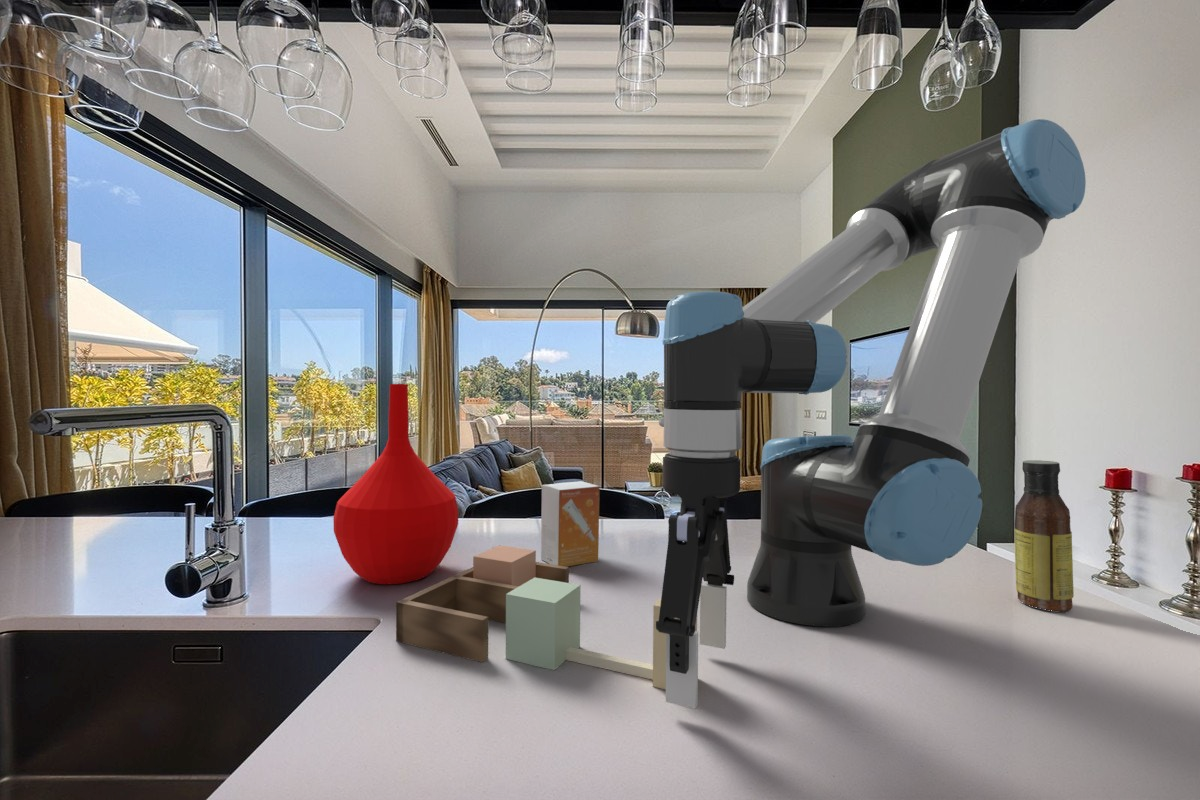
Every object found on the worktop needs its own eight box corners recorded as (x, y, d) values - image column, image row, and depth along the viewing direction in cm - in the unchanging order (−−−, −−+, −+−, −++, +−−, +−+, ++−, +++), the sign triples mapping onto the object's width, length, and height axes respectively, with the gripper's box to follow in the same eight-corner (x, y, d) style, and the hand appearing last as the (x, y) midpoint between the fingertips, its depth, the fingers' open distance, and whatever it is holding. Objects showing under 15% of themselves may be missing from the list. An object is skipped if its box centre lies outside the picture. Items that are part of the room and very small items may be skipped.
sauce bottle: (1064, 601, 78) (1067, 460, 78) (1080, 617, 73) (1083, 465, 73) (1008, 594, 81) (1010, 457, 81) (1019, 609, 76) (1022, 462, 75)
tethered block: (699, 671, 58) (700, 595, 58) (684, 701, 52) (685, 616, 52) (534, 636, 66) (534, 568, 66) (505, 658, 60) (506, 584, 60)
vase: (406, 603, 76) (407, 383, 75) (304, 585, 82) (304, 382, 82) (480, 564, 93) (481, 385, 93) (391, 552, 99) (391, 384, 99)
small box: (558, 569, 91) (558, 489, 90) (540, 559, 96) (540, 484, 96) (599, 561, 95) (600, 485, 95) (580, 552, 100) (580, 480, 100)
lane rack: (568, 599, 78) (568, 567, 78) (482, 662, 59) (482, 620, 59) (496, 586, 82) (496, 556, 82) (396, 641, 64) (396, 602, 64)
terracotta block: (535, 600, 77) (535, 550, 77) (511, 616, 72) (511, 562, 72) (499, 594, 80) (499, 545, 80) (473, 608, 74) (473, 556, 74)
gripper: (694, 441, 67) (692, 619, 68) (620, 464, 45) (617, 728, 46) (758, 444, 64) (756, 630, 65) (711, 470, 42) (708, 753, 43)
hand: (698, 671), depth 55 cm, fingers open, 12 cm apart
